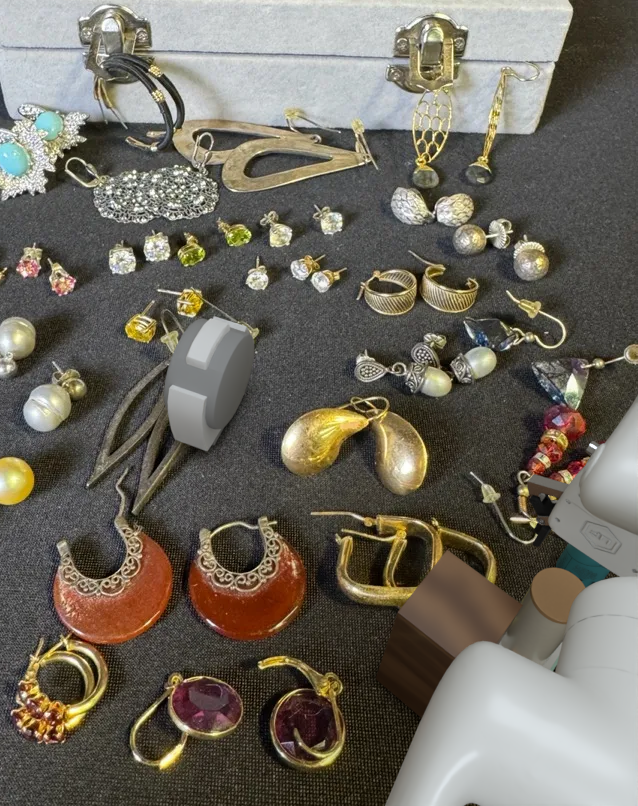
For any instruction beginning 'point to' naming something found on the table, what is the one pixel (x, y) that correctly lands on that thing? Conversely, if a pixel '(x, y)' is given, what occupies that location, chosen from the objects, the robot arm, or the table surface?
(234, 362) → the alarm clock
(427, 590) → the wooden block
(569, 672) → the robot arm
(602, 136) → the table surface
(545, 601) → the canister
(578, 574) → the beverage bottle
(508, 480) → the table surface
